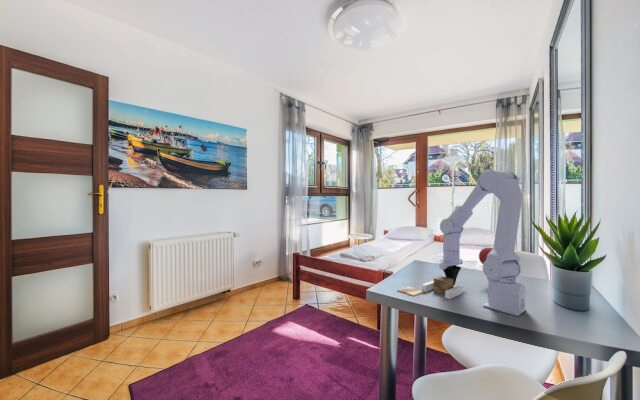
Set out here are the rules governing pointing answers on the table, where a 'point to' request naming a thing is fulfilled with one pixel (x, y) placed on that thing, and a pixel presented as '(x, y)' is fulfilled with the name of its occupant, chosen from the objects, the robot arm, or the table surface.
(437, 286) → the block
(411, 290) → the pad
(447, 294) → the channel
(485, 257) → the lollipop
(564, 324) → the table surface
